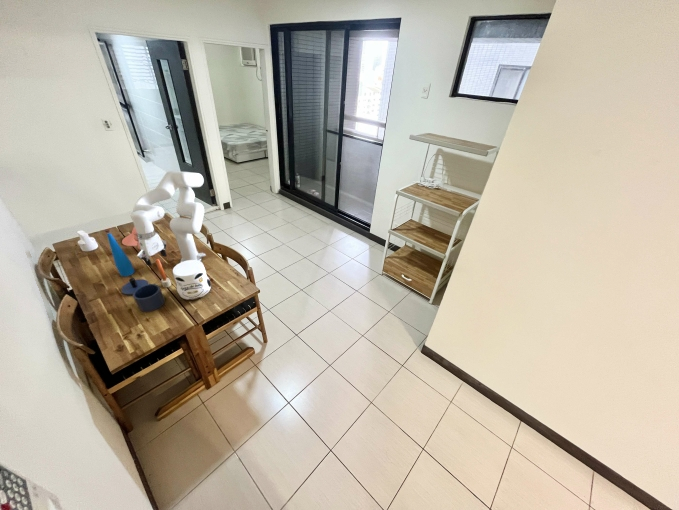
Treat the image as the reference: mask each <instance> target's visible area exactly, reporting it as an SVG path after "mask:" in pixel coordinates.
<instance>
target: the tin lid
mask: <svg viewBox="0 0 679 510" xmlns="http://www.w3.org/2000/svg"><path fill="white" fill-rule="evenodd" d="M128 281H129V282H127V283H125V284H124V285H123V286H122V288H121V293H122V294H124V295H127V296H133V293H134V292H135V290H137V289H138V288H140V287H142V286H144V285H148V284H149V281H147V280H146V279H135V277H134V278H133V277H131V278H130V279H129V280H128Z"/></svg>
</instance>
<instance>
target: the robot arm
mask: <svg viewBox="0 0 679 510" xmlns="http://www.w3.org/2000/svg"><path fill="white" fill-rule="evenodd" d="M204 183H205V179H204V177H203V175H202V174H201V173H199V172H194V171H193V172H191V171H177V170H168V171H166V172H165V174H164V175H163V177H162V179H161V180H160V181H159V183H158V184H157V186H156V187H155V188H153V189H152V190H149V191H147V192H146V193H144V194H143V195H141V196H140V197H139V198H138V199H137V201H136V202H135V204H134V206H133V208H132V212H131V213H130V218H131V221H132V224H133V227H135V228H136V231H137V234H138V236H137V238H138V239H139V245H140V249H141V250H140V249H139V252H138V254H137V255H136V257H137V258H138V259H140V260H143V261H144V262H145V265H146V266H150V267H152V265H153V263H152V261H151V259H150V257H152V256H154V255H156V254H158V253H160V255H161V256H162V257H165V258H166V257H167V256H168V255H167V252H166V248H167V240H165V239H164V240H162V239H161V237H160V235H159V233H158V232H156V231H155V227H154V225H153V223H154V222H157V221H160V220H161V219H163V218H164V217H165V214H166V212H165V209H164V208H163V207H161V206H159V205H153V204H156V203H159V202H162V201H163V202H164V201H167V200H170V199H172V198H173V196H174V195H175V193H176V191H177V189H178V190H179V196H178V199H177V203H176V210H175V211H176V214H177V215H179V216H181V217H177V216H176V217H173V218H172V219H170V221H169V228H170V230H171V232H172V234H173V236H174V238H175V241H176V243H177V246H178V249H179V252H180V255H181V258H180V263H181V262H184V261H187V260H198V261H200V262H202V258H205V257H207V255H206V253H204V252H199V251H198V250H197V246H196V243H195V240H194V236H193V235H197V234H200V232H201V231H202V226H203V221H204V216H205V206H204V205H203V204H202V203H201V202H198V201H195V198H196V194H195V192H194V190H193V188H201V187H202V186H203V184H204Z"/></svg>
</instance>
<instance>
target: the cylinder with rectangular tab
mask: <svg viewBox="0 0 679 510" xmlns="http://www.w3.org/2000/svg"><path fill="white" fill-rule="evenodd" d="M76 233H77V236H78V238H79V240H77V244H78V246H79V248H80V249H81V251H82V252H91V251H94V250H96V249H98V248H99V244H98V242H97V240H96V239H95V237H94V236H90V235H89V233H87V232H86V231H84V230H82V229H81V230H78V231H76Z"/></svg>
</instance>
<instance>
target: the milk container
mask: <svg viewBox="0 0 679 510" xmlns="http://www.w3.org/2000/svg"><path fill="white" fill-rule="evenodd" d="M172 274H173V278H174V280H175V283H176V291H177V294H178V296H179V297H181V298H182V299H184V300H187V301H189V300H190V301H193V300H198V299H201V298H203V297H205V296H206V295H208V293H209V292H210V291H211V288H212V283H211V280H210V277H208V275H207V271H206V268H205V266H204V263H203V262H202V261H198V260H187V261H184V262H181V261H180V262H179V263H177V264H176V265H175V266H174V267H173V269H172Z"/></svg>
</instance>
